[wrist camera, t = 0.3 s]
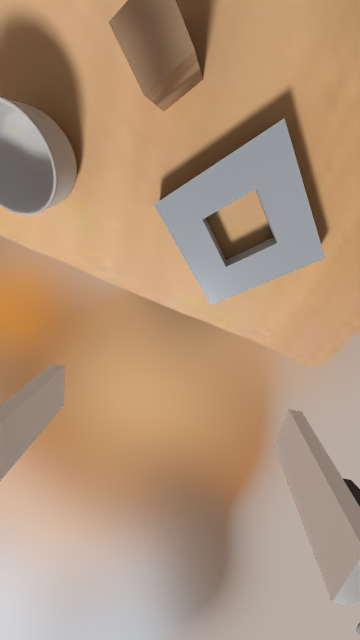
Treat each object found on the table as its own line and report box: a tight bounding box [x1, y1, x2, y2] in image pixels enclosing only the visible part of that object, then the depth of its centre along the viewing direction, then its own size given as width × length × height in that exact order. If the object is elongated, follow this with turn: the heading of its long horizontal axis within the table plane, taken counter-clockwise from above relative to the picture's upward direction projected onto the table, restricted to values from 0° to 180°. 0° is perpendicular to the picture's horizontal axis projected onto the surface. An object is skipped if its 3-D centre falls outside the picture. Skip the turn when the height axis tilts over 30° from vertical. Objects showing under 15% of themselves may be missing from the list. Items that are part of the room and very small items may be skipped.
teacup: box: [0, 96, 77, 215], centre depth 29 cm, size 14×11×8 cm
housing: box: [154, 118, 325, 305], centre depth 31 cm, size 16×16×3 cm
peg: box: [109, 0, 203, 111], centre depth 22 cm, size 5×5×8 cm
